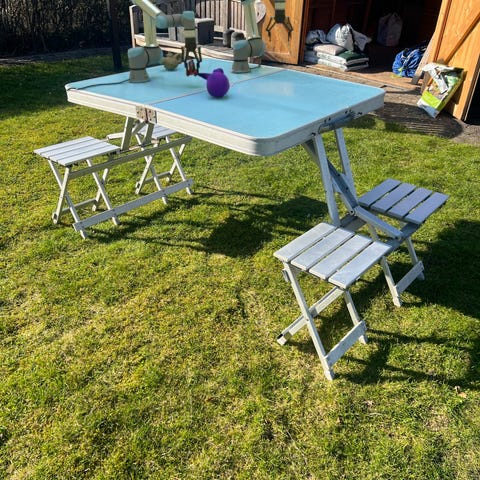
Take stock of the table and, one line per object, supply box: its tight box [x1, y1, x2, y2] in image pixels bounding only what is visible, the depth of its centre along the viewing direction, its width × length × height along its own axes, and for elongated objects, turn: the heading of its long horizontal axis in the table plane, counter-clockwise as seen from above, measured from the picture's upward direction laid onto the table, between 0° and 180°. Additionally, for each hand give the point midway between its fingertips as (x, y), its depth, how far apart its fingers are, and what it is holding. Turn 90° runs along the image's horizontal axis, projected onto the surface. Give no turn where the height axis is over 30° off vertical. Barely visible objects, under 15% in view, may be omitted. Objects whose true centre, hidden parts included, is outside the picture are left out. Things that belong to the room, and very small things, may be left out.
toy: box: [195, 67, 230, 99], centre depth 289 cm, size 16×18×27 cm
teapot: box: [159, 50, 183, 71], centre depth 373 cm, size 21×12×15 cm, turn 120°
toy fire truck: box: [185, 59, 198, 77], centre depth 311 cm, size 7×12×10 cm, turn 169°
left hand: (192, 72), depth 313 cm, fingers closed on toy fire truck, 7 cm apart
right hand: (279, 41), depth 330 cm, fingers open, 13 cm apart
